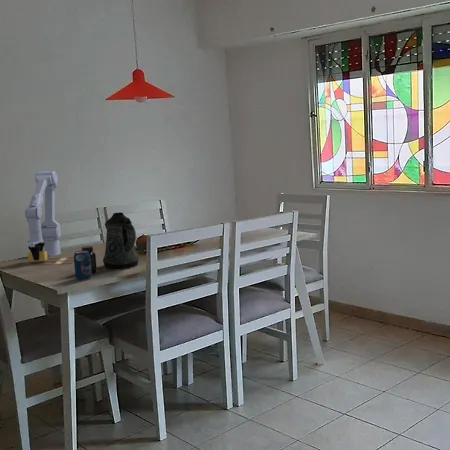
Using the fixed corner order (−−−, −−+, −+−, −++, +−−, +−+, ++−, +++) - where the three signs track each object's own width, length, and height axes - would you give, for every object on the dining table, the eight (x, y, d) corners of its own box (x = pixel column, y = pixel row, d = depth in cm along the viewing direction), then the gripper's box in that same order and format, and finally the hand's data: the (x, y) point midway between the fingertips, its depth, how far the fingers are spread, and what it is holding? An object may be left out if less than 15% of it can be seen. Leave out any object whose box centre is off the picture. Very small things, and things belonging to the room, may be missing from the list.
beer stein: (114, 261, 296) (110, 210, 292) (150, 262, 290) (147, 210, 286) (96, 269, 281) (92, 215, 277) (134, 270, 274) (130, 215, 270)
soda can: (85, 281, 259) (83, 253, 257) (72, 280, 262) (69, 253, 260) (95, 277, 265) (92, 250, 263) (82, 276, 268) (79, 249, 266)
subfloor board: (31, 261, 307) (31, 259, 306) (79, 258, 307) (78, 256, 306) (21, 268, 291) (21, 266, 291) (71, 265, 291) (71, 263, 291)
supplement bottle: (78, 274, 273) (76, 248, 271) (87, 270, 279) (84, 245, 277) (91, 275, 270) (89, 248, 268) (100, 271, 276) (97, 245, 274)
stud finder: (31, 259, 300) (30, 251, 299) (47, 258, 300) (46, 250, 299) (28, 261, 296) (27, 253, 295) (45, 260, 296) (44, 252, 295)
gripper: (31, 229, 303) (34, 256, 305) (22, 234, 288) (25, 262, 291) (45, 228, 303) (48, 255, 305) (37, 233, 288) (39, 261, 291)
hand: (38, 258), depth 298 cm, fingers closed on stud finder, 4 cm apart
